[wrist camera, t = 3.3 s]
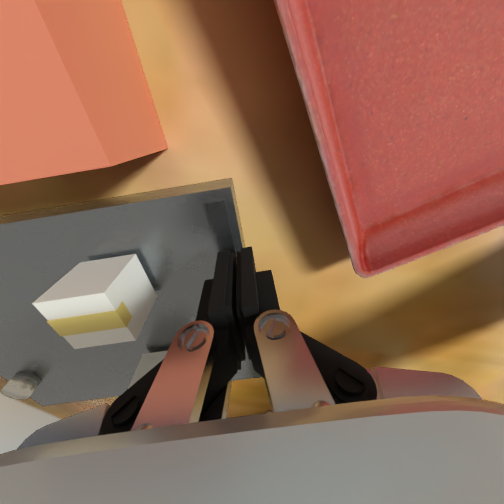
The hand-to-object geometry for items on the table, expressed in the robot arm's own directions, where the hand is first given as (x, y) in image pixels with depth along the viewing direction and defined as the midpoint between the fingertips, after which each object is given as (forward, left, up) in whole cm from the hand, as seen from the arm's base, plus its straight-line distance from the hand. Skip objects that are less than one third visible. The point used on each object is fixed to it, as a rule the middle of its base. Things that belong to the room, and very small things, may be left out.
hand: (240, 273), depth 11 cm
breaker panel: (+10, +4, -3) cm, 11 cm away
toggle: (+7, 0, -1) cm, 7 cm away
